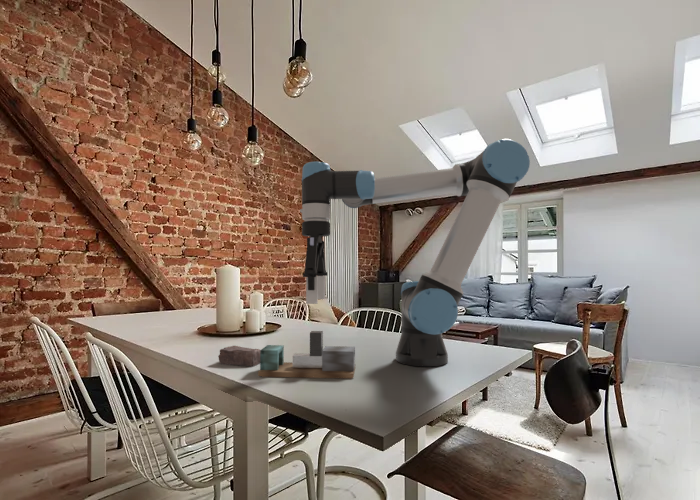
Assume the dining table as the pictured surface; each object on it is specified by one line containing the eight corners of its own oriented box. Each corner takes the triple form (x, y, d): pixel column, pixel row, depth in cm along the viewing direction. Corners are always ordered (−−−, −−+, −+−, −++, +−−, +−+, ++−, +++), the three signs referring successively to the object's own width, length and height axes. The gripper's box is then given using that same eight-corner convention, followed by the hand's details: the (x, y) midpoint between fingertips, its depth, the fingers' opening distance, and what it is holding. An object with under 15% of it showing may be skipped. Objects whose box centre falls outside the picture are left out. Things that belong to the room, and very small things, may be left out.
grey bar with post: (354, 365, 103) (354, 331, 104) (354, 368, 100) (354, 333, 101) (294, 364, 104) (295, 330, 105) (292, 367, 101) (292, 332, 102)
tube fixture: (355, 368, 107) (355, 345, 107) (353, 378, 97) (353, 353, 97) (269, 366, 108) (269, 343, 109) (258, 376, 98) (258, 351, 99)
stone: (253, 368, 107) (253, 350, 108) (215, 365, 111) (215, 349, 111) (268, 360, 116) (268, 344, 116) (233, 358, 119) (233, 343, 119)
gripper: (310, 226, 117) (310, 297, 116) (291, 215, 92) (291, 305, 91) (335, 226, 116) (335, 297, 115) (323, 214, 92) (323, 305, 91)
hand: (316, 301), depth 103 cm, fingers open, 13 cm apart
